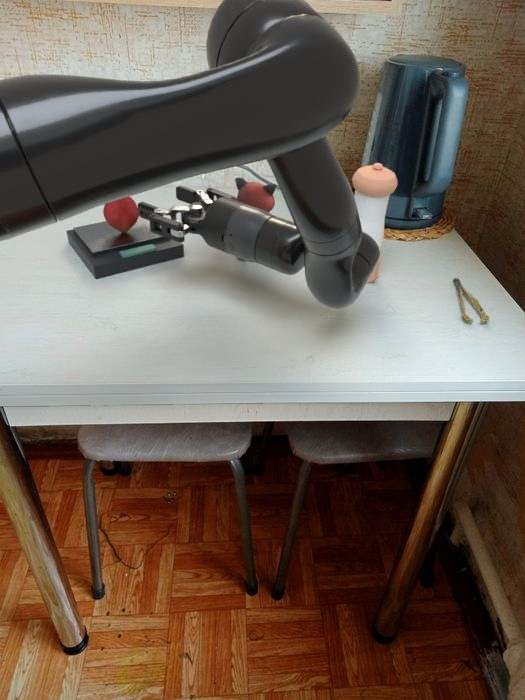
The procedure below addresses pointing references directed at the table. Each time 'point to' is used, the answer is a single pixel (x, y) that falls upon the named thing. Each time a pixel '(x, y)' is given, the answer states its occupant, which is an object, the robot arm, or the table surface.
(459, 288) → the tongs
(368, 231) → the pepper shaker
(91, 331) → the table surface
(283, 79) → the robot arm
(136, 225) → the scale
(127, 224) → the onion
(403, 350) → the table surface
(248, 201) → the stuffed fox
